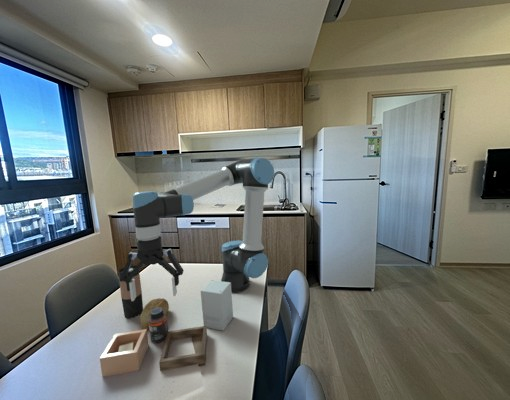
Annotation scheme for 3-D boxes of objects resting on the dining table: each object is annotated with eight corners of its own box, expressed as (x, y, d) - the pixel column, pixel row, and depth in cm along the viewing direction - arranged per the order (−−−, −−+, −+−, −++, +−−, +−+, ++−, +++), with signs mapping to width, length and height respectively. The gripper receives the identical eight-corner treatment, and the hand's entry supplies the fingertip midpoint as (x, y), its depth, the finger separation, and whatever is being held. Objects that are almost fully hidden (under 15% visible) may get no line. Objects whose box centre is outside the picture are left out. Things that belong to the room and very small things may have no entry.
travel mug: (135, 319, 92) (129, 273, 90) (119, 318, 94) (113, 272, 91) (147, 308, 100) (142, 265, 97) (132, 307, 101) (127, 264, 99)
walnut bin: (206, 334, 82) (206, 325, 82) (205, 364, 69) (204, 354, 69) (169, 340, 80) (168, 331, 79) (160, 373, 67) (159, 362, 67)
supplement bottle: (167, 331, 85) (164, 303, 83) (170, 340, 80) (167, 311, 78) (149, 338, 82) (146, 309, 80) (152, 348, 77) (148, 318, 75)
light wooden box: (148, 347, 77) (146, 329, 76) (139, 372, 68) (136, 352, 67) (117, 352, 76) (114, 333, 75) (102, 379, 66) (99, 358, 65)
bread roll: (173, 308, 100) (172, 291, 98) (162, 332, 85) (159, 312, 84) (151, 309, 99) (149, 292, 98) (135, 334, 84) (133, 314, 83)
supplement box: (233, 316, 92) (231, 281, 90) (224, 331, 83) (221, 293, 81) (214, 312, 95) (211, 279, 93) (202, 326, 86) (199, 290, 84)
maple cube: (134, 352, 74) (133, 341, 74) (133, 361, 71) (132, 350, 70) (120, 357, 72) (119, 346, 72) (119, 366, 69) (117, 355, 68)
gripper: (188, 231, 82) (192, 286, 84) (113, 237, 77) (120, 295, 80) (185, 237, 74) (190, 297, 77) (103, 244, 70) (110, 307, 73)
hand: (154, 296), depth 78 cm, fingers open, 13 cm apart
